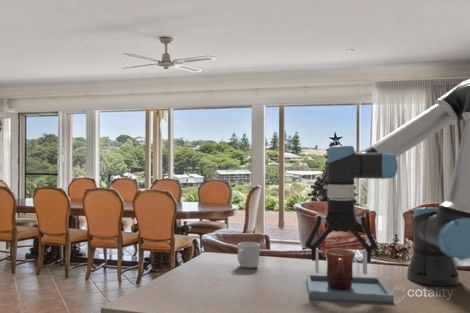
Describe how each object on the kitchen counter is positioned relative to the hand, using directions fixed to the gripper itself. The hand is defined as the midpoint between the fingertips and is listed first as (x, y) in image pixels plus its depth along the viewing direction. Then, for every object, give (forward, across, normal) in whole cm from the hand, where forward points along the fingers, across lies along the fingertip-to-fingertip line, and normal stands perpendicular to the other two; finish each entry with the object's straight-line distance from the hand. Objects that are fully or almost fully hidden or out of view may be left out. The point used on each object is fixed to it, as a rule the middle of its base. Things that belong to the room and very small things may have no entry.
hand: (340, 272), depth 128 cm
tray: (+5, -2, 0) cm, 5 cm away
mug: (+5, 0, 0) cm, 5 cm away
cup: (+5, +29, -23) cm, 38 cm away
